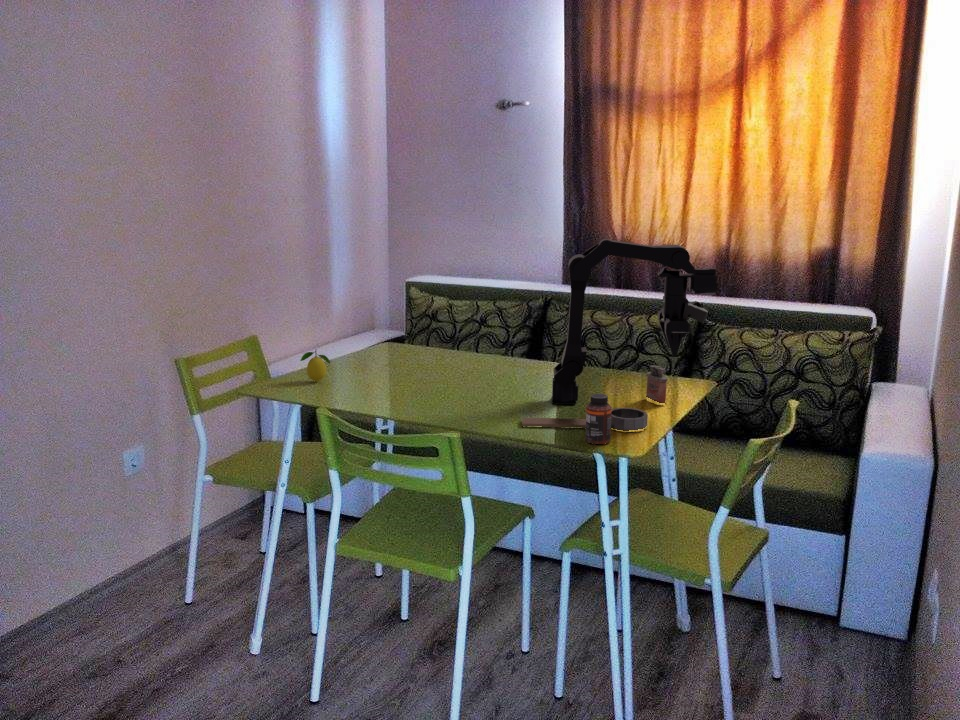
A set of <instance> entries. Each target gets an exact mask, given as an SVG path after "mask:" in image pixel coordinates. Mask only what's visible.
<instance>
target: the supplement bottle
mask: <svg viewBox="0 0 960 720" xmlns="http://www.w3.org/2000/svg"><path fill="white" fill-rule="evenodd" d="M608 400H609V399H608V395H607V394H604V393H593V394H591V395H590V402H589V403H588V404H587V405H586V408H585V409H586V410H585V419H586V429H585V441H586V442H587V443H588V442H589V443H588V444H590V443H593V444H592V445H595V444H603V445H606V444H605V443H607V444H609V443H610V442H611V438H612V437H611V436H612V430H611V411H612V409H613V408H612V406H611V404H609V403H608ZM608 442H609V443H608Z"/></svg>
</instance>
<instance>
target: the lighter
mask: <svg viewBox="0 0 960 720" xmlns="http://www.w3.org/2000/svg"><path fill="white" fill-rule="evenodd" d="M665 375H666V369H665V368H663V367H661V366H660V365H650V371H648V372H646V391H645V392H646V393H645V396H646V397H648V398H650V399H652V400H654V401H657V402H659V403H665V401H666V400H667V399H666V398H667V385H668V384H667V382H668V379H669V378H668V377H666V376H665ZM666 402H667V401H666Z"/></svg>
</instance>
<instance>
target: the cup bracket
mask: <svg viewBox="0 0 960 720" xmlns="http://www.w3.org/2000/svg"><path fill="white" fill-rule="evenodd" d="M648 420H649V419H648V413H647V411H644V410H642V409H638V408H633V407H617V408H612V411H611V428H613V429H617V430H623V431H629V430H638V429H643V428H645V427H646V426H647V427H648ZM522 426H542V427H582V428H586V418H562V417H560V418H557V417H556V418H555V417H554V418H553V417H527V416H526V417H525V416H523V417H521V427H522Z"/></svg>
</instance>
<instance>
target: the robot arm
mask: <svg viewBox="0 0 960 720" xmlns="http://www.w3.org/2000/svg"><path fill="white" fill-rule="evenodd" d="M608 256H615V257H622V258H628V259H633V260H634V259H635V260H641V261H650V262H654V263H656V264H659V265H662V266H663V267H662V268H661V270H660V271H658V272H657V276H658V277H659V278H664V289H663V290H664V291H663V292H664V293H663V295H662V300H663V307H662V308H661V309H660V310H658V311H657V319H658V323H659V326H660V329H661V332H662V334H663V337H664V340H665V343H666V347H667V348H668V349H670V352H671V356H672V357H677V356H678V353H679V350H680V347H681V344H682V340H683V339H684V337H685V336H687V335H689V334H690V333H691V331H692V330H691V328H692V327H691V326H692V325H691V323H690V322H689V321H688V319H689V318H691V319H693V320H695V321H698V322H699V323H700V324H704V323H705V321H706V319H707V316H708V313H709V311H708V310H707V309H706V308H704V307H702V302H700V301H697V300H695V301H693V302H692V303H691V302H690V303H689V300H688V298H687V292H688V291H692V294H693V295H716V294H717V290H718V282H717V269H716V268H715V267H708V268H695V266H694V264H692V263H691V261H690V258H691V257H690V253H689V251H688V250H687V249H686V248H685V247H684V246H682V245H680V244H664V245H663V244H662V245H648V244H643V243H642V244H640V243H633V242H627V241H621V240H613V239H610V238H603V239H601V240H600V241H598V243H596V244H595V245H593V246H592V247H590V248H589V249H586V251H584V252H583V253H580V254H579V253H578V254H575V255H573V256H571V257H570V258H569V261H568V274H569V284H570V285H569V286H570V299H569V312H568V313H569V314H568V327H567V338H566V342H565V346H564V349H563V351H562V352H563V353H562V357H561V361H560V362H559V363H558V364H557V365H556V366H554V368H553V377H552V380H551V382H552V387H551V388H552V389H551V390H552V391H551V398H550V399H551V404H552V405H564V404H576V405H577V402H578V398H579V397H578V396H579V385H578V383H577V377H578V376H580V375H581V374H582V373H583V372H584V371H583V370H584V368H586V367H587V364H586V358H587V354H588V351H587V347H586V346H584V347H582V333H583V332H582V331H583V318H584V306H585V305H584V304H585V293H586V289H587V287H588V282H589V279H590V275H591V272H592V269H593V268H595V267H596V266H597V265H599V264H600V262H602V261H603V260H604V259H606V258H607V257H608ZM667 267H668V268H670V269H667ZM679 270H682V271H684V272H685V273H680V271H679ZM687 287H688V291H687Z"/></svg>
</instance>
